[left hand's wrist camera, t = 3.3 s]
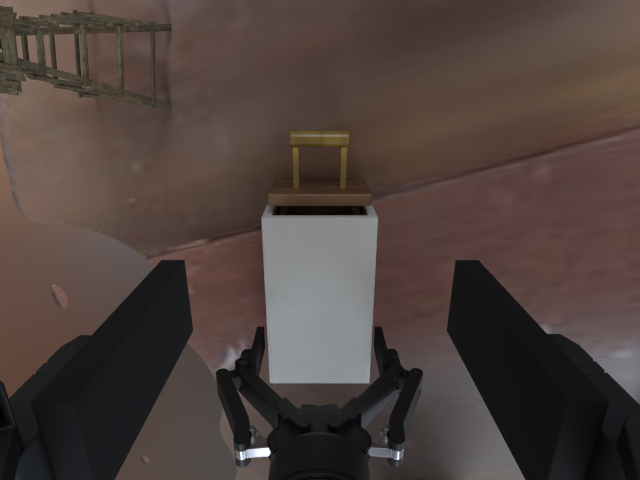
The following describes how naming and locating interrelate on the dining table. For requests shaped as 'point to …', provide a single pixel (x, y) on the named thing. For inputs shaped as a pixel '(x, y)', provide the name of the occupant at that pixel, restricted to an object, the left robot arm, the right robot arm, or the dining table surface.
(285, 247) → the cabinet
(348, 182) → the drawer
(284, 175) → the dining table surface
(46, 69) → the miniature windmill
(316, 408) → the right robot arm
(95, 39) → the dining table surface
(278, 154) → the dining table surface
